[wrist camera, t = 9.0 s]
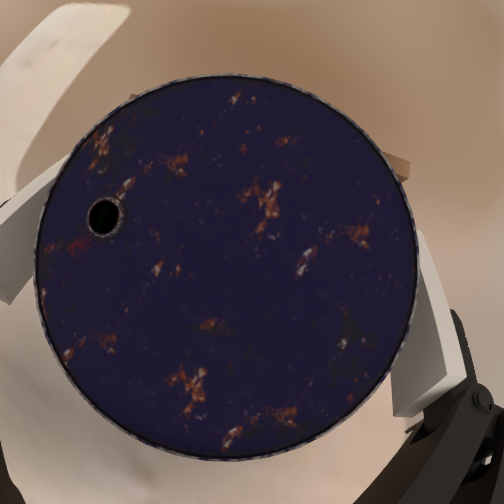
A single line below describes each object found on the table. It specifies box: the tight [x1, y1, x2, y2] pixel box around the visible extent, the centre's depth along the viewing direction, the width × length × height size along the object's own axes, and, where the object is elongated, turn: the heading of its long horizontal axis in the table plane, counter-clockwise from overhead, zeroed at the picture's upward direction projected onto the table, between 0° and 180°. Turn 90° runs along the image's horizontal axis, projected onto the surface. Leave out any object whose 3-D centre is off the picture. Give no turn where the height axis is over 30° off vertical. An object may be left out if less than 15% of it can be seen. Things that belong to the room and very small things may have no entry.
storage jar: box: [33, 73, 420, 462], centre depth 14 cm, size 10×10×15 cm
